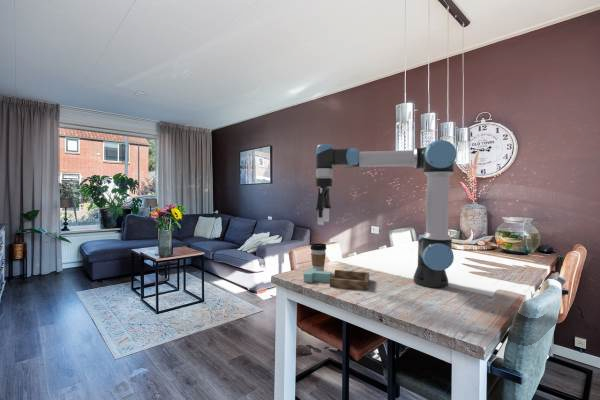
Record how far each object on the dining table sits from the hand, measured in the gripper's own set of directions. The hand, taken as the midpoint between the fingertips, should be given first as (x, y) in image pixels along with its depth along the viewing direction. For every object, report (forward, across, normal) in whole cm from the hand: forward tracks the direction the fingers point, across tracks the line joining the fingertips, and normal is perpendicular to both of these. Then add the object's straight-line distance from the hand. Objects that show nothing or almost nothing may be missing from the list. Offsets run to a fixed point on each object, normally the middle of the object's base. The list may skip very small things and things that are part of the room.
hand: (323, 223), depth 143 cm
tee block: (+28, -2, -3) cm, 28 cm away
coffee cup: (+28, -16, -6) cm, 33 cm away
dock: (+28, -2, +12) cm, 31 cm away
